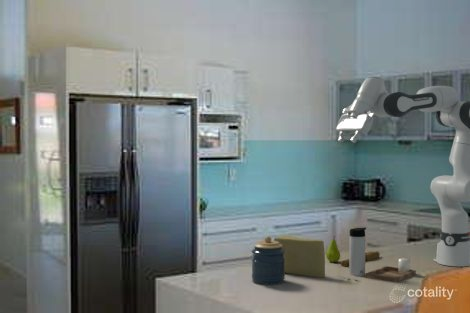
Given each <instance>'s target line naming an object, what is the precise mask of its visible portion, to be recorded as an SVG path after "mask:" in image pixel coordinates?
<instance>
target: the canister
mask: <svg viewBox="0 0 470 313" xmlns="http://www.w3.org/2000/svg"><path fill="white" fill-rule="evenodd" d="M282 246H283V245H282V244H280V243H279V242H277V241H274V240H272V237H271V236H269V235H267V236H266V237H265V238H264V240H259V241H257V242H256V243H254V244H253V247H254V248H253V249H252V250H251V253H252V258H251V280H252V282H253V283H255V284H259V285H268V284H269V285H278V284H282V283H284V282H285V279H286V277H285V276H286V273H284V261H285V259H284V257H283V254H284V253H285V251H284V250H283V249H282V248H281V247H282Z"/></svg>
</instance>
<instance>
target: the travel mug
mask: <svg viewBox="0 0 470 313" xmlns="http://www.w3.org/2000/svg"><path fill="white" fill-rule="evenodd" d="M366 231H367V228H366V227H354V228H351V229H350V230H349V242H348V243H349V247H348V248H349V251H348V252H349V254H348V255H349V258H348V259H349V266H348V267H349V268H348V269H349V275H350V276H354V277H355V276H356V277H363V276H365V273H366V261H365V253H366Z"/></svg>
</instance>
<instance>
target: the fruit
mask: <svg viewBox="0 0 470 313" xmlns="http://www.w3.org/2000/svg"><path fill="white" fill-rule="evenodd" d="M335 237H336V235H334V236H333V239H332V241H331V242H330V244H329V246H328V249H327V251H326V252H325V258H326V259H327V261H329V262H331V263H337V262H338V261H340V259H341V252H340V251H339V249H338V248H339V247H338V245H337V241H336V239H335Z"/></svg>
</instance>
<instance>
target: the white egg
mask: <svg viewBox="0 0 470 313" xmlns="http://www.w3.org/2000/svg"><path fill="white" fill-rule="evenodd" d="M397 262H398V263H397V264H398V266H397V268H398V274H399V275H402V274H405V273H407V272H410V268H411V267H410V266H411V265H410V262H411V260H410V259H409V258H406V257H402V258H398V261H397Z"/></svg>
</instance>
